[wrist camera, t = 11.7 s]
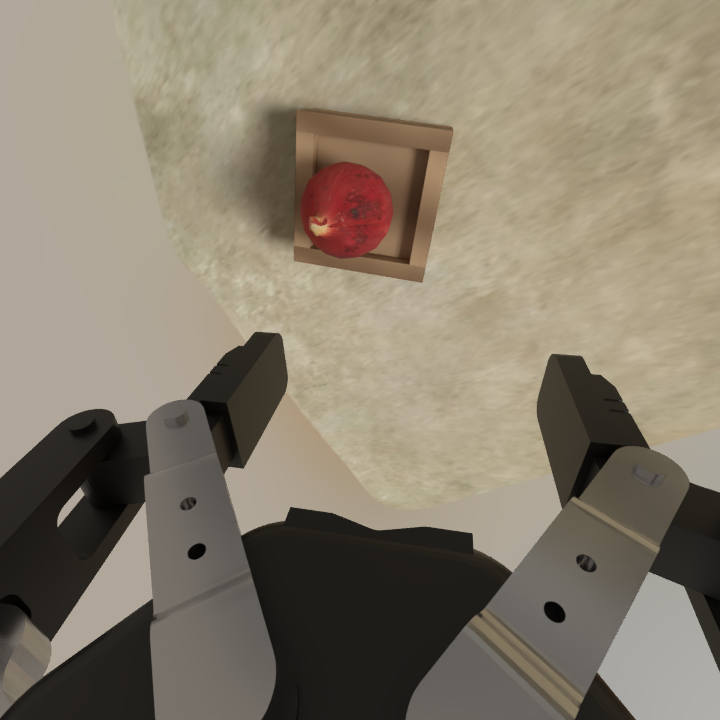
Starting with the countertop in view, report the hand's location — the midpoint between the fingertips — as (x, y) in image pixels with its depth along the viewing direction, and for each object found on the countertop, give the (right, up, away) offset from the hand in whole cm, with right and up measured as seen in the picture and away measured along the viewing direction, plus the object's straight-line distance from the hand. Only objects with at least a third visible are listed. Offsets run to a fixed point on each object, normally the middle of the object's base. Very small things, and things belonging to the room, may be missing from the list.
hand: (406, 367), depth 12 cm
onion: (-1, +12, +17) cm, 20 cm away
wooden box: (0, +14, +20) cm, 24 cm away
